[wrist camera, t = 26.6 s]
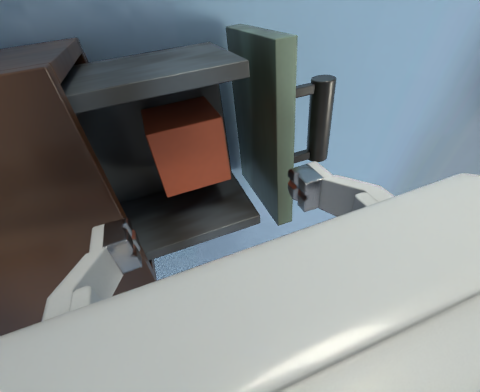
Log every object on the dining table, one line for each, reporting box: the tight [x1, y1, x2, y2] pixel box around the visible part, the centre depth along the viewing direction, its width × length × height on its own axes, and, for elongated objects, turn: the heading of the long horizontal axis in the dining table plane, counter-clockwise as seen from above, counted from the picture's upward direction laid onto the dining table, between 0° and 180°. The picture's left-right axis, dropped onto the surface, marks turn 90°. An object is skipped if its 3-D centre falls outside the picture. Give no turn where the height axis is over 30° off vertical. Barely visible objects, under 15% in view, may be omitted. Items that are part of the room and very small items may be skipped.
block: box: [141, 96, 231, 197], centre depth 19 cm, size 5×5×5 cm
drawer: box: [60, 24, 336, 261], centre depth 18 cm, size 19×12×8 cm, turn 95°
